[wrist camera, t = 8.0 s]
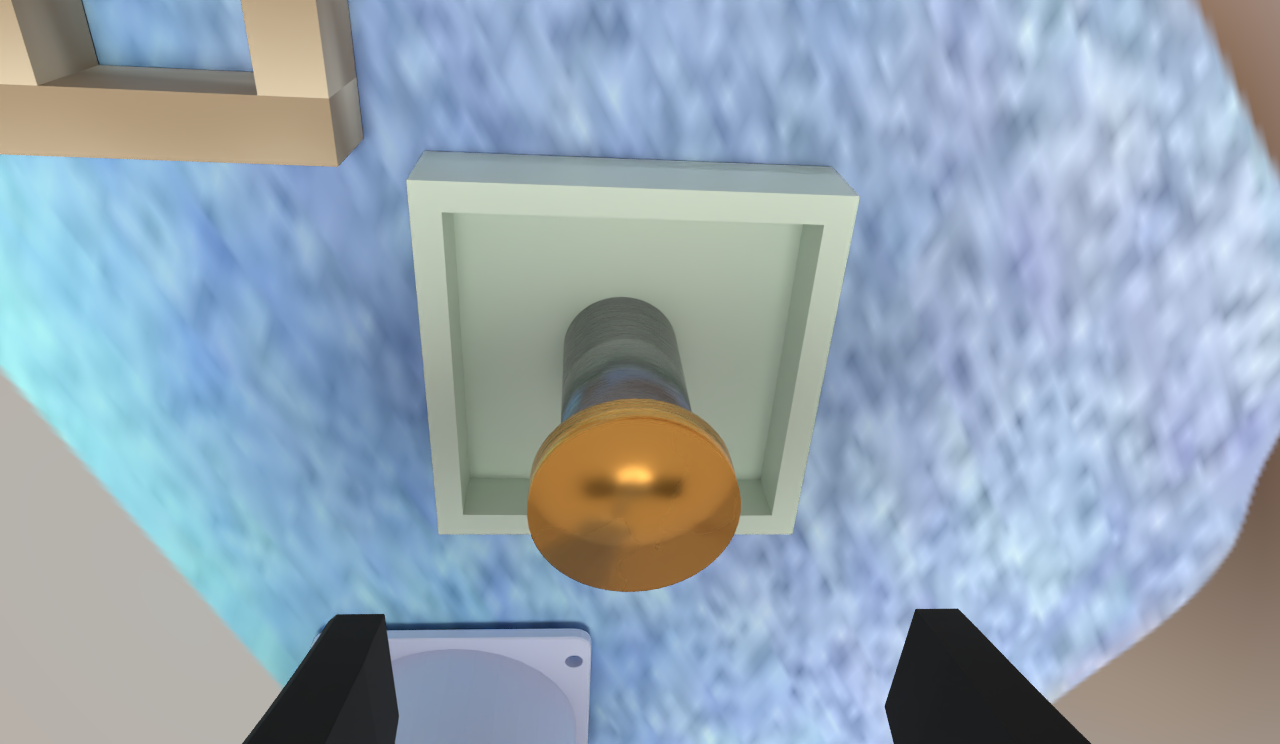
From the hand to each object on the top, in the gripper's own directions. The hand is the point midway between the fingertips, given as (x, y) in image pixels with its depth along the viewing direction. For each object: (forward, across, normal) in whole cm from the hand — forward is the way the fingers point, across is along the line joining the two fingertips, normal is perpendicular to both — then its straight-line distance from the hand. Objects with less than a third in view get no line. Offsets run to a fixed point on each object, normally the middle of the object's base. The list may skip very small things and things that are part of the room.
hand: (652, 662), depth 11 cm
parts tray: (+9, 0, 0) cm, 9 cm away
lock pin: (+9, 0, 0) cm, 9 cm away
